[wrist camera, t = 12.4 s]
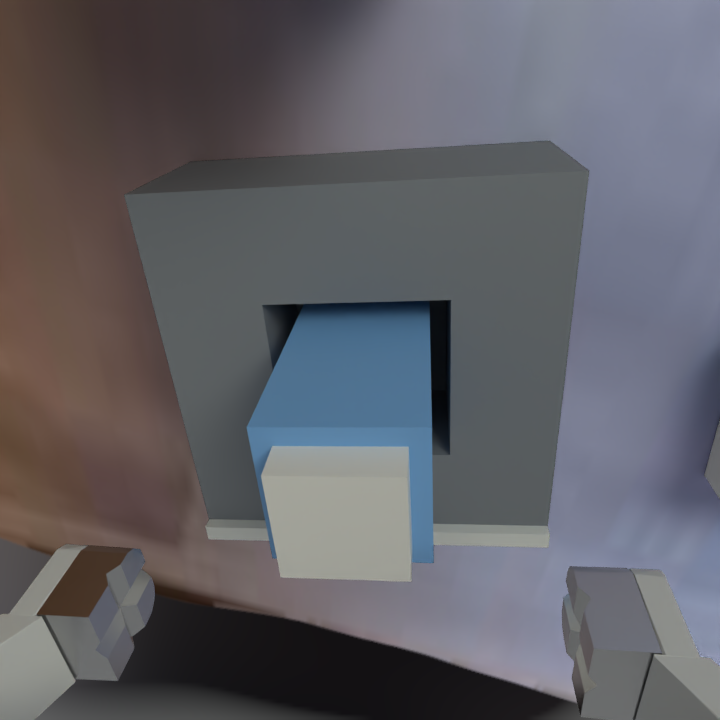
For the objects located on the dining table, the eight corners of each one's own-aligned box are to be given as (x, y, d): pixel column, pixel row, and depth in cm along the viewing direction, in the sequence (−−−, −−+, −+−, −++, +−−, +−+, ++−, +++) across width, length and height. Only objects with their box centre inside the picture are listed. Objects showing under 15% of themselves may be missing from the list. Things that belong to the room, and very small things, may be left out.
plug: (428, 275, 20) (432, 458, 11) (430, 375, 22) (434, 597, 13) (315, 279, 20) (232, 455, 12) (326, 376, 22) (263, 591, 13)
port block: (549, 140, 18) (593, 173, 14) (524, 449, 24) (548, 547, 19) (190, 161, 20) (116, 198, 15) (248, 448, 26) (208, 539, 21)
